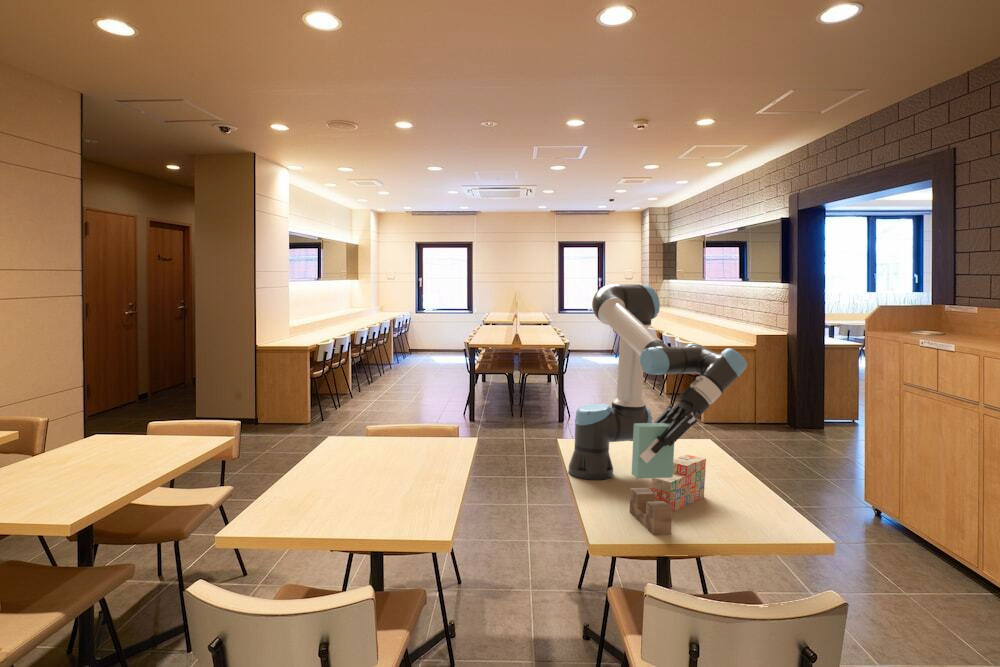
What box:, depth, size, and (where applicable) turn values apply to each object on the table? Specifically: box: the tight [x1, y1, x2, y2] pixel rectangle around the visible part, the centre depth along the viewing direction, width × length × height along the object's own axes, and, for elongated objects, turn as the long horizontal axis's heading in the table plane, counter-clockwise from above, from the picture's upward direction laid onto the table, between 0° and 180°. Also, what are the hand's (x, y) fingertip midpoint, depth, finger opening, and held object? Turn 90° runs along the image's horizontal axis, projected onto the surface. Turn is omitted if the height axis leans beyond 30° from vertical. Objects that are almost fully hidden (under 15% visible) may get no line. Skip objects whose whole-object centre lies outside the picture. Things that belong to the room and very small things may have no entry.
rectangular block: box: [631, 422, 675, 479], centre depth 166 cm, size 4×10×14 cm, turn 100°
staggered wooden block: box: [629, 487, 673, 536], centre depth 167 cm, size 16×5×7 cm, turn 10°
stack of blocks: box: [650, 454, 707, 512], centre depth 184 cm, size 21×6×12 cm, turn 135°
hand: (639, 457), depth 165 cm, fingers closed on rectangular block, 4 cm apart
